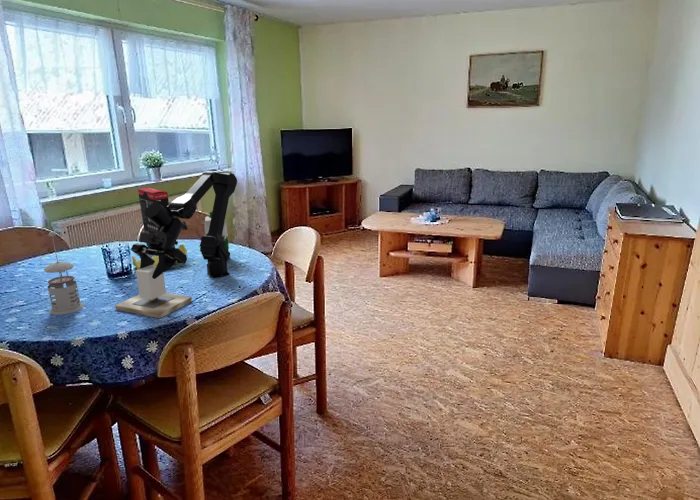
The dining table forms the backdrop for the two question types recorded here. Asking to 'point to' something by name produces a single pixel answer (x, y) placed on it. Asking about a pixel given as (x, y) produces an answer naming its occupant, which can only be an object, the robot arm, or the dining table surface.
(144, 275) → the block
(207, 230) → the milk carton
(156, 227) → the graphics card box
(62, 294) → the french press
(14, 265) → the dining table surface
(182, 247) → the plastic component
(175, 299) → the board
